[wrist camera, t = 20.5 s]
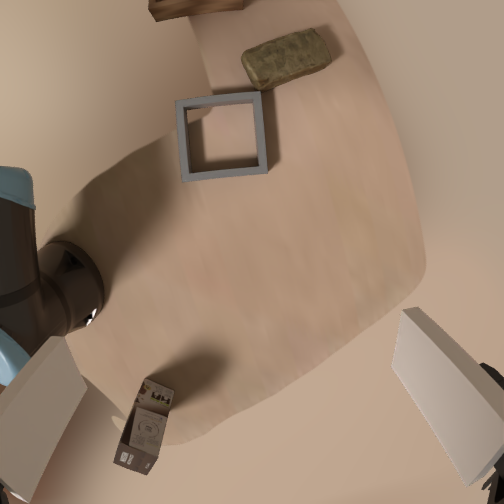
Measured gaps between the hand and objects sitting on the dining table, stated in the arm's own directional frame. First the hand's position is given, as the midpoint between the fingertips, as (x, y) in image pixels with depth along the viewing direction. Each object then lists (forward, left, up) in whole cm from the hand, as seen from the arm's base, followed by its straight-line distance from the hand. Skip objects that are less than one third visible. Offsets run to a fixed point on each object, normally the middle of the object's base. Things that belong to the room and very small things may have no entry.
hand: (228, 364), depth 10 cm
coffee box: (-20, -33, -32) cm, 50 cm away
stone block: (+8, +21, -32) cm, 39 cm away
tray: (-1, +11, -32) cm, 34 cm away
